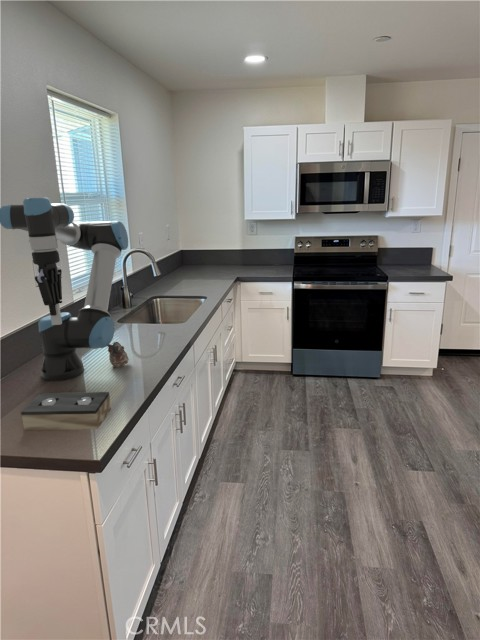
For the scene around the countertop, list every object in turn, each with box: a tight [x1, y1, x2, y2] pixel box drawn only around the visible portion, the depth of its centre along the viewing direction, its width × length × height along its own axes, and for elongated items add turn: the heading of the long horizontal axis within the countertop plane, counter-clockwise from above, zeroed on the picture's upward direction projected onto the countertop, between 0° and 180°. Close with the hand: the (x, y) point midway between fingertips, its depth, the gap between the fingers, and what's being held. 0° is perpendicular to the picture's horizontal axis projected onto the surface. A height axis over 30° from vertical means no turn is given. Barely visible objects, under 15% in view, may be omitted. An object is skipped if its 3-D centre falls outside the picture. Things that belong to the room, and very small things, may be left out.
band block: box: [20, 391, 112, 431], centre depth 131 cm, size 12×22×6 cm, turn 88°
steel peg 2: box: [77, 397, 92, 405], centre depth 130 cm, size 4×4×6 cm
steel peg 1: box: [42, 398, 56, 406], centre depth 131 cm, size 4×4×6 cm
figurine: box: [107, 341, 129, 368], centre depth 168 cm, size 7×7×12 cm
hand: (57, 324), depth 138 cm, fingers closed
